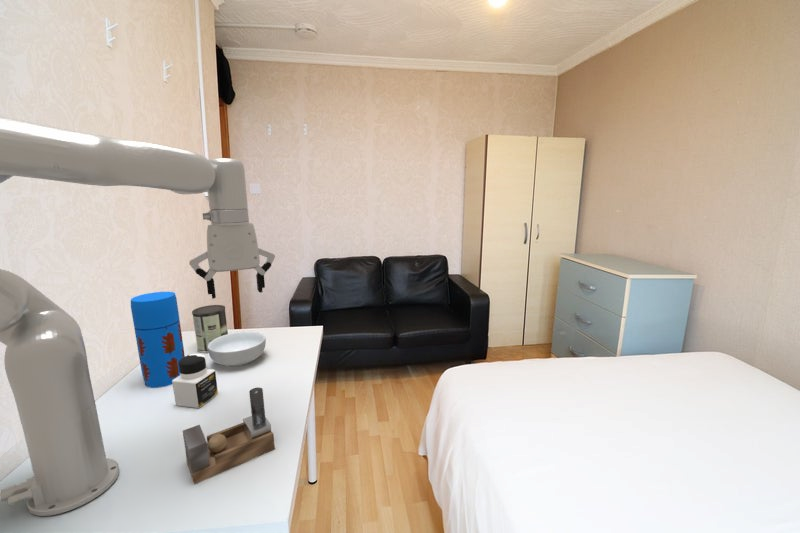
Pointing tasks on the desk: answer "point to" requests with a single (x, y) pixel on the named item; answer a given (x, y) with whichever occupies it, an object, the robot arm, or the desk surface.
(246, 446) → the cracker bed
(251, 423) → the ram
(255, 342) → the cereal bowl
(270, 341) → the desk surface
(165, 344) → the thermos
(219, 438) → the nut
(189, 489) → the desk surface
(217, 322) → the coffee can
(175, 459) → the desk surface
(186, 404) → the medicine bottle
